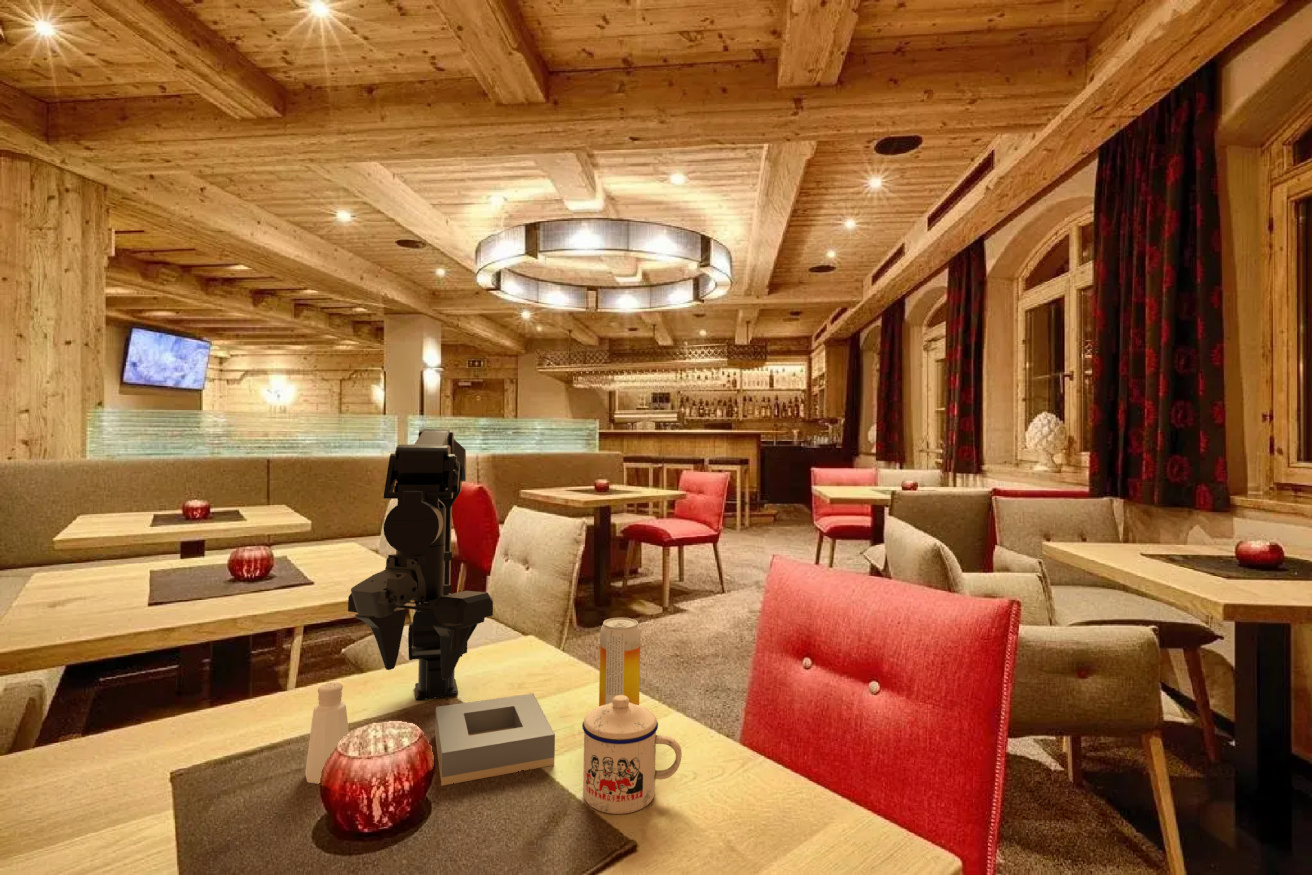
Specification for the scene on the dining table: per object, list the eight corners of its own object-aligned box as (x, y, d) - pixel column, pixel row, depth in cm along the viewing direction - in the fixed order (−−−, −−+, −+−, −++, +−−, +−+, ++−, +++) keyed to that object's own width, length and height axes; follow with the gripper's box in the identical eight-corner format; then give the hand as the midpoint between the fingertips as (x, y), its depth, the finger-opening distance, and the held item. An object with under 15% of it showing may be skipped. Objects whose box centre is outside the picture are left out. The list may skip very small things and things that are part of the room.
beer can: (641, 713, 97) (642, 617, 98) (636, 732, 91) (638, 629, 91) (602, 711, 98) (604, 615, 98) (595, 729, 92) (597, 627, 92)
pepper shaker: (319, 789, 75) (321, 698, 75) (295, 776, 78) (296, 687, 78) (361, 769, 80) (363, 683, 80) (337, 757, 83) (338, 674, 83)
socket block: (435, 734, 89) (435, 706, 89) (533, 719, 95) (533, 693, 95) (441, 785, 77) (442, 752, 77) (554, 764, 82) (554, 734, 82)
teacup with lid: (572, 813, 71) (574, 711, 71) (590, 771, 80) (592, 680, 81) (677, 822, 70) (679, 718, 70) (683, 778, 79) (685, 686, 79)
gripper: (310, 548, 75) (305, 682, 73) (428, 555, 67) (425, 705, 66) (386, 540, 85) (383, 658, 83) (497, 546, 77) (494, 676, 76)
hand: (417, 673), depth 77 cm, fingers open, 9 cm apart
